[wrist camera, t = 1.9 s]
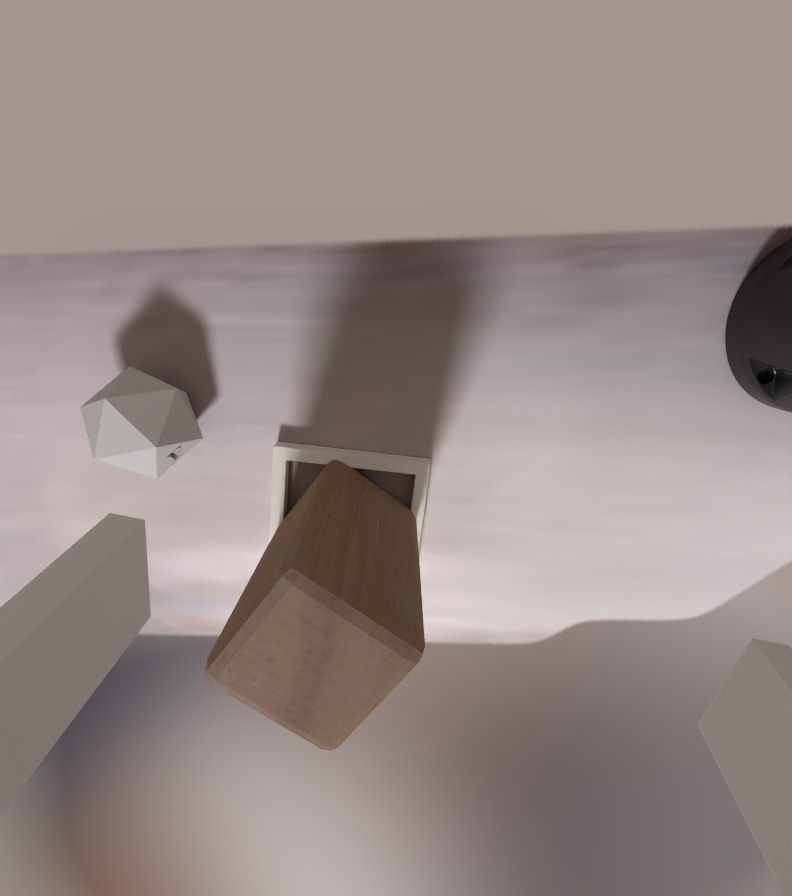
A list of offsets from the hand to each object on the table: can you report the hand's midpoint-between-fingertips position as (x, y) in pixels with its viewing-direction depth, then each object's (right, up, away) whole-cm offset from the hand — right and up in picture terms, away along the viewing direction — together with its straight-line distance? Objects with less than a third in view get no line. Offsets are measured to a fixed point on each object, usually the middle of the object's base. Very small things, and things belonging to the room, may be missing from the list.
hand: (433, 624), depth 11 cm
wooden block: (-6, -3, +37) cm, 37 cm away
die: (-22, +7, +34) cm, 41 cm away
